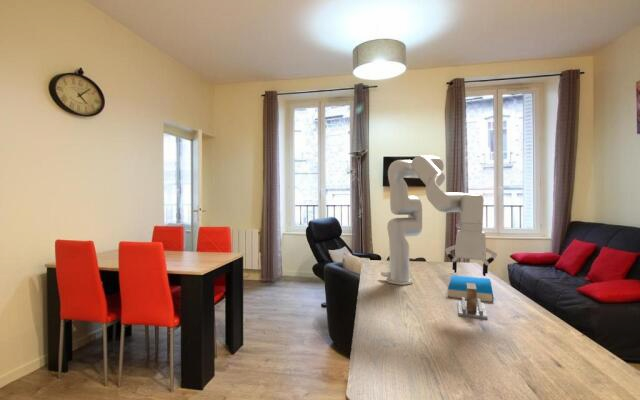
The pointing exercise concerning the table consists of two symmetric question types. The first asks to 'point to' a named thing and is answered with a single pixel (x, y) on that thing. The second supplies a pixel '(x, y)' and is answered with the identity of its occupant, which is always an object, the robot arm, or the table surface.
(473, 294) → the door panel
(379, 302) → the table surface
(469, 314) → the floor track
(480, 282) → the book
